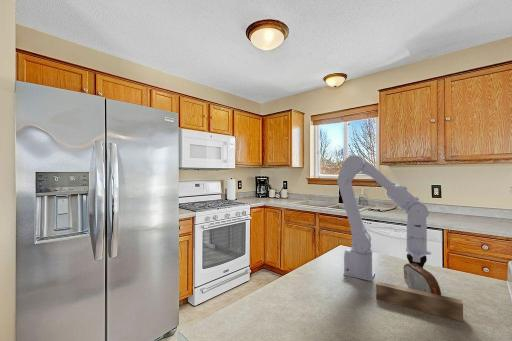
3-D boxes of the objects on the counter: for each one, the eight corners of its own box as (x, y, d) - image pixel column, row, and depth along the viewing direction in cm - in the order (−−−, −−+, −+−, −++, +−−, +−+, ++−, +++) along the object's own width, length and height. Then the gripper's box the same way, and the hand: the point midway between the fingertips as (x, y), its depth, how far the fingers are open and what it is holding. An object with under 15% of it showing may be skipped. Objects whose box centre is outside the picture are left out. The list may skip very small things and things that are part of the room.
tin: (442, 309, 68) (442, 278, 68) (430, 308, 68) (430, 278, 68) (411, 284, 83) (411, 259, 83) (401, 284, 83) (401, 259, 83)
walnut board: (376, 299, 73) (376, 284, 73) (377, 295, 75) (377, 281, 75) (463, 321, 62) (463, 304, 62) (461, 317, 64) (461, 299, 64)
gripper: (432, 244, 75) (432, 288, 75) (430, 234, 87) (430, 272, 87) (405, 240, 79) (405, 282, 79) (406, 231, 91) (406, 268, 91)
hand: (416, 277), depth 83 cm, fingers closed
